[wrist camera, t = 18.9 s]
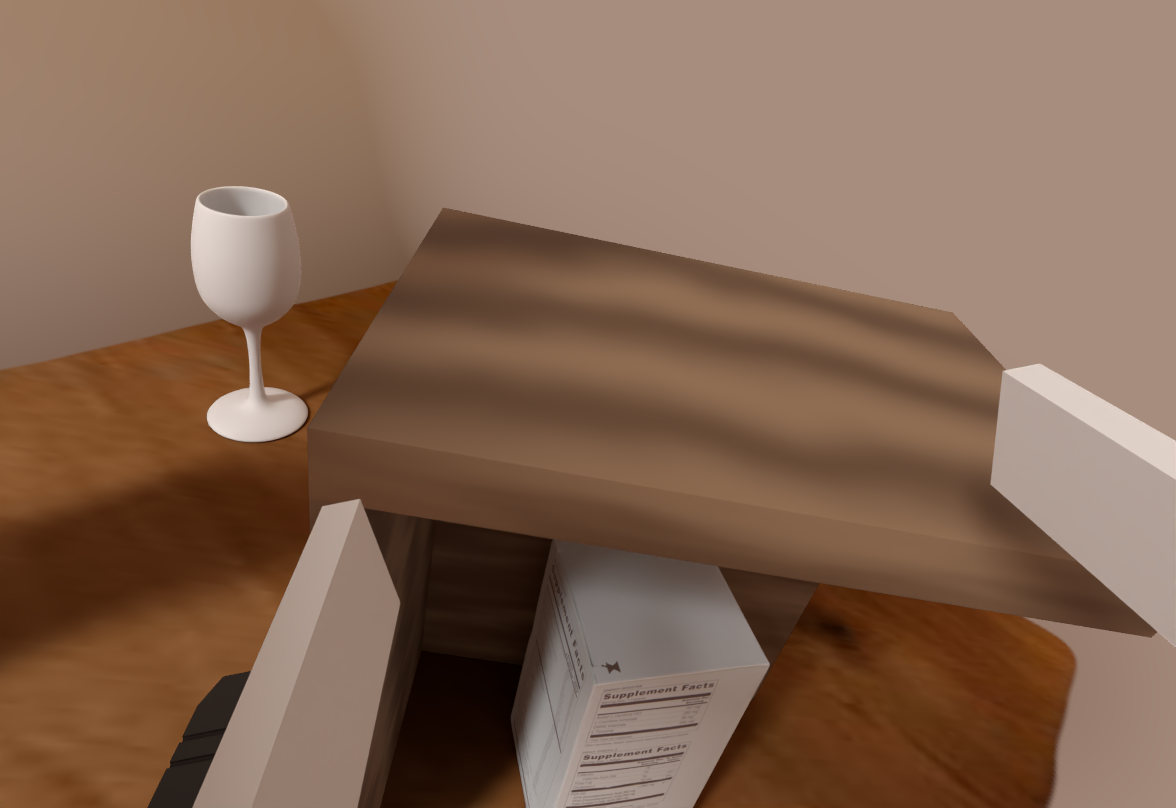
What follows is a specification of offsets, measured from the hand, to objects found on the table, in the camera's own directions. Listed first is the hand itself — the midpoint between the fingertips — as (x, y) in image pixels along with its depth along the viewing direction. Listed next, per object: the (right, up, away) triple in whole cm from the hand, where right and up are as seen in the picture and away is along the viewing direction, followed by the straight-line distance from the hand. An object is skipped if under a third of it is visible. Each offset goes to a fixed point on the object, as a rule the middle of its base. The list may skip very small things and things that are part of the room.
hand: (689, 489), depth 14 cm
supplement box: (-2, -22, +30) cm, 37 cm away
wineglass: (-33, +1, +52) cm, 62 cm away
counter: (-3, -22, +30) cm, 37 cm away
